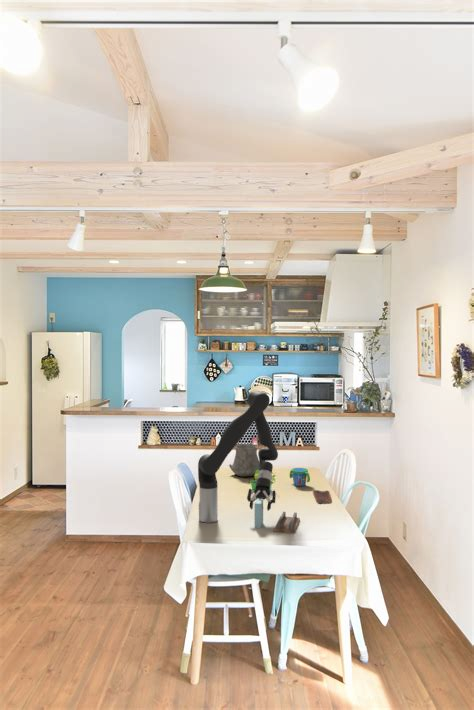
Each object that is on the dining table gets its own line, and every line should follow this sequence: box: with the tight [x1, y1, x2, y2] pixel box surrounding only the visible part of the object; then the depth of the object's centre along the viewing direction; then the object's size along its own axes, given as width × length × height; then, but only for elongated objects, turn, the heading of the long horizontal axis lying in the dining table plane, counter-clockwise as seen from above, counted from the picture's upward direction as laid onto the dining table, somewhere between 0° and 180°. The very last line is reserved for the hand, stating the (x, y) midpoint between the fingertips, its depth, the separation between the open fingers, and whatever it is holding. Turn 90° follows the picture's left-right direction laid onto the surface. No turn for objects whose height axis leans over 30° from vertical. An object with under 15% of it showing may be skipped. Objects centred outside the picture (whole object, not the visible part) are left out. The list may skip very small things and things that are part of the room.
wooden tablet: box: [312, 489, 333, 505], centre depth 318 cm, size 26×2×10 cm
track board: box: [273, 511, 301, 534], centre depth 269 cm, size 10×20×4 cm, turn 166°
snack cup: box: [289, 467, 311, 487], centre depth 344 cm, size 16×10×10 cm
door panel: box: [254, 499, 264, 529], centre depth 269 cm, size 3×7×12 cm, turn 166°
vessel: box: [228, 444, 260, 478], centre depth 371 cm, size 22×22×20 cm
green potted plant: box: [249, 470, 259, 490], centre depth 335 cm, size 11×9×11 cm
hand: (259, 509), depth 271 cm, fingers open, 8 cm apart
